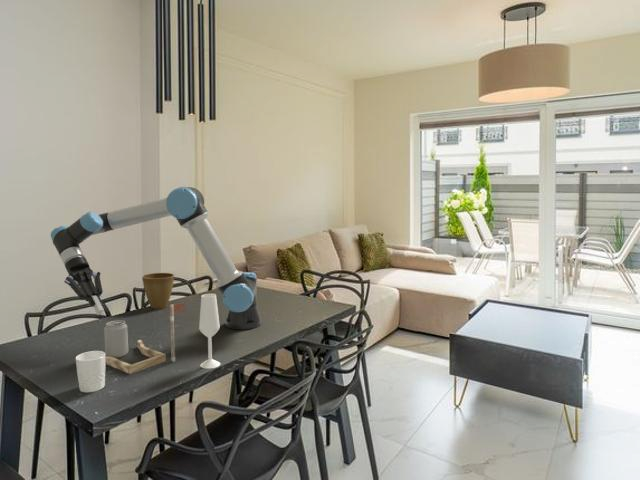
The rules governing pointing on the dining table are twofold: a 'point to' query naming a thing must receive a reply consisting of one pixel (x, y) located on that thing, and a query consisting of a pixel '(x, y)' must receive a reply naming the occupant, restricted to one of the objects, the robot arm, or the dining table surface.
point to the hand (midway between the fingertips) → (100, 312)
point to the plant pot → (158, 289)
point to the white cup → (91, 371)
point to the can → (116, 339)
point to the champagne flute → (209, 325)
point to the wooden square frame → (148, 350)
